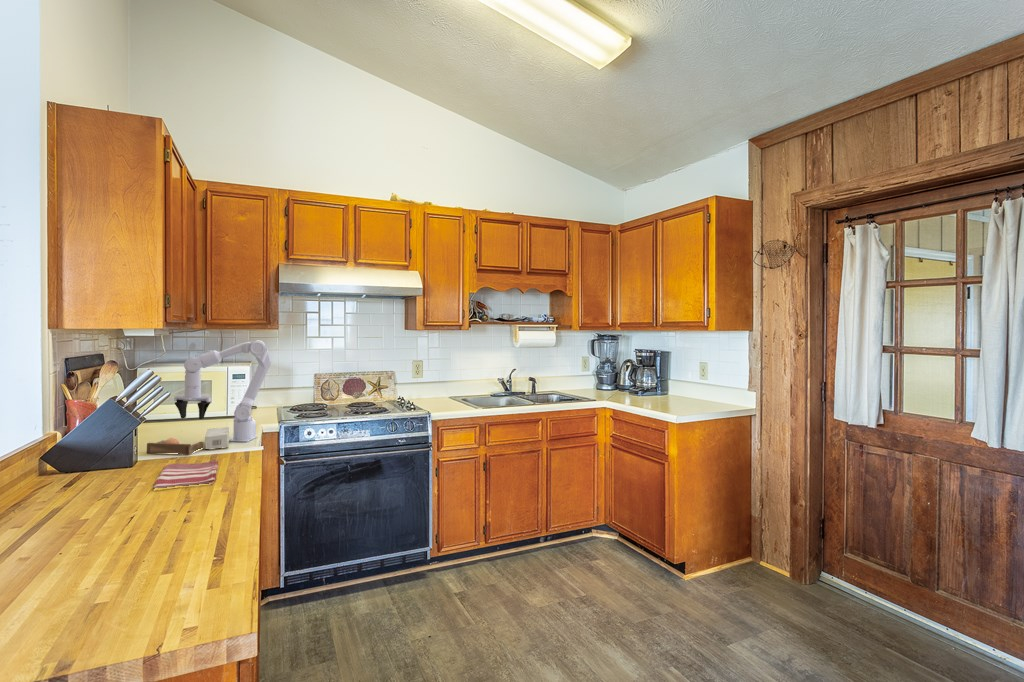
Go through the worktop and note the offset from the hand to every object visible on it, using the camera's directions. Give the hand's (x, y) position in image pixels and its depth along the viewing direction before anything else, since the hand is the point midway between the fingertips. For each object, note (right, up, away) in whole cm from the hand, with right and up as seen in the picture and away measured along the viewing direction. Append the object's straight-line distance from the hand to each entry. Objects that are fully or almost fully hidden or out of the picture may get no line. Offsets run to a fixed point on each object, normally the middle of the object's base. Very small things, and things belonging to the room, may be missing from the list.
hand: (192, 418), depth 211 cm
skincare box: (+15, -9, -9) cm, 20 cm away
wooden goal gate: (+2, -11, -14) cm, 18 cm away
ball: (-1, -8, -12) cm, 15 cm away
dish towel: (+25, -14, -42) cm, 51 cm away
